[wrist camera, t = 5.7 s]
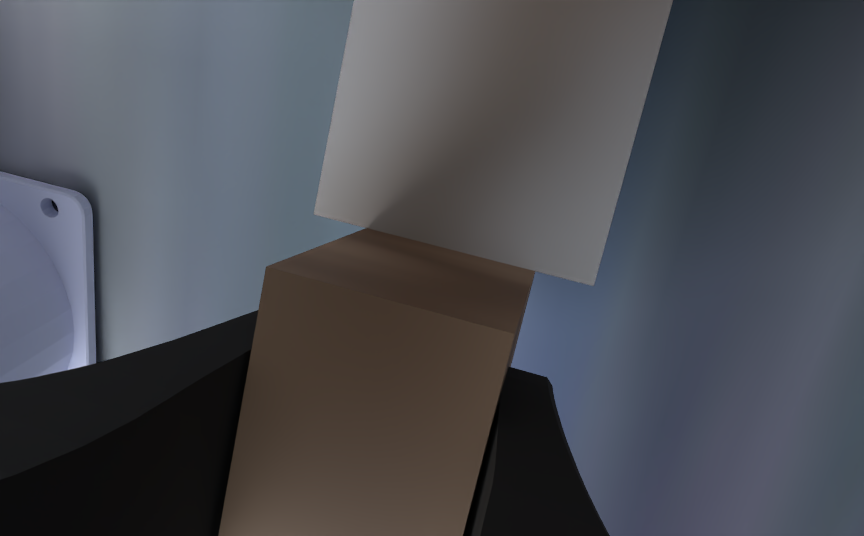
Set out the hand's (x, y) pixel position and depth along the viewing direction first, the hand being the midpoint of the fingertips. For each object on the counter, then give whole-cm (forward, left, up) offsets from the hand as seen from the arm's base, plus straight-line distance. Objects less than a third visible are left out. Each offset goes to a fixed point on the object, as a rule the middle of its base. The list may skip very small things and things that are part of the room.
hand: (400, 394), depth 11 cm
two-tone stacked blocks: (0, +4, -3) cm, 5 cm away
